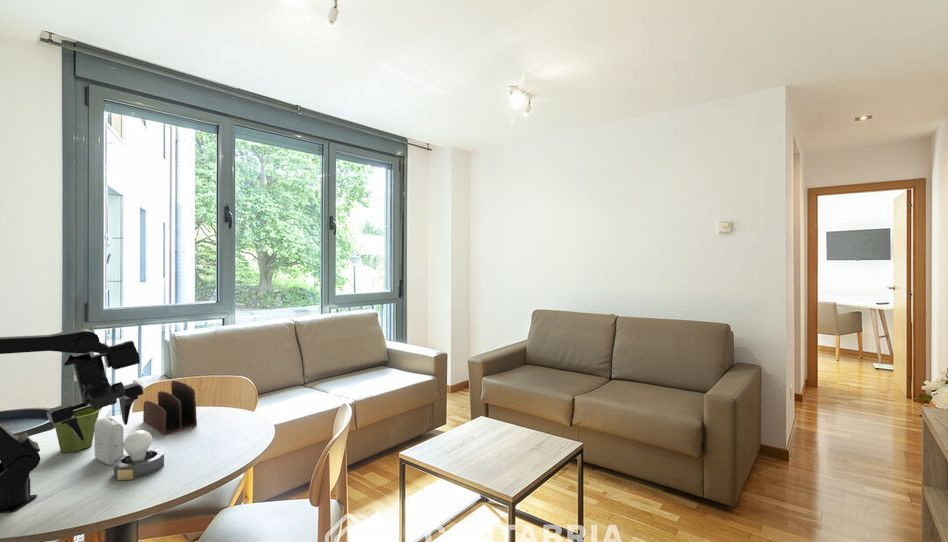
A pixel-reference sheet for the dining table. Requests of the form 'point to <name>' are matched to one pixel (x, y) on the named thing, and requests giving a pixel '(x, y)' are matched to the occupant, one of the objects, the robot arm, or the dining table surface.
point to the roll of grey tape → (138, 465)
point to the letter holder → (172, 409)
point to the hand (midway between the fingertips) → (104, 432)
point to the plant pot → (86, 424)
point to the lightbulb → (137, 445)
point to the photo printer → (108, 440)
